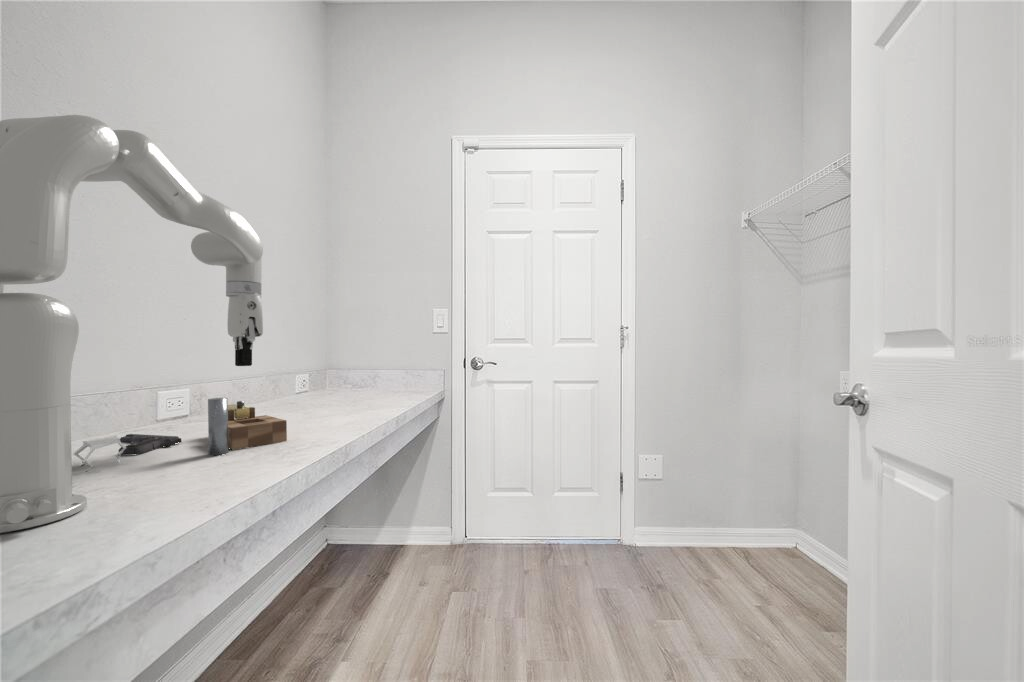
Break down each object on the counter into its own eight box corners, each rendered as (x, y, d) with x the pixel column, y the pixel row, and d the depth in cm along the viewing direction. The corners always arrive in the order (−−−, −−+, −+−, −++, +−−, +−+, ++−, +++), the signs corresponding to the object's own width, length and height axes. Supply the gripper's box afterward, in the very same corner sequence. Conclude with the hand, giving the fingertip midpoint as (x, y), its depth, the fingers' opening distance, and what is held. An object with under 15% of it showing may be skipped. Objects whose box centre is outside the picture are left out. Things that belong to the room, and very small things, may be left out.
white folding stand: (76, 462, 94) (75, 438, 94) (129, 456, 99) (128, 433, 99) (63, 477, 84) (62, 450, 84) (122, 469, 89) (122, 443, 89)
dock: (286, 440, 112) (286, 410, 112) (232, 450, 103) (231, 416, 103) (265, 434, 120) (265, 405, 120) (213, 442, 111) (212, 411, 111)
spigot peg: (230, 453, 100) (230, 398, 100) (212, 456, 98) (211, 400, 97) (224, 451, 103) (224, 397, 103) (206, 454, 100) (205, 399, 100)
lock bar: (249, 417, 115) (249, 401, 115) (236, 418, 113) (236, 402, 113) (234, 413, 122) (234, 398, 122) (221, 414, 120) (221, 399, 120)
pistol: (134, 446, 99) (189, 434, 110) (76, 442, 105) (134, 431, 116) (134, 458, 99) (189, 445, 110) (76, 453, 105) (134, 441, 116)
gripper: (273, 289, 111) (272, 365, 110) (248, 294, 120) (248, 365, 120) (238, 286, 105) (238, 367, 105) (215, 292, 115) (215, 365, 114)
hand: (243, 365), depth 112 cm, fingers closed
